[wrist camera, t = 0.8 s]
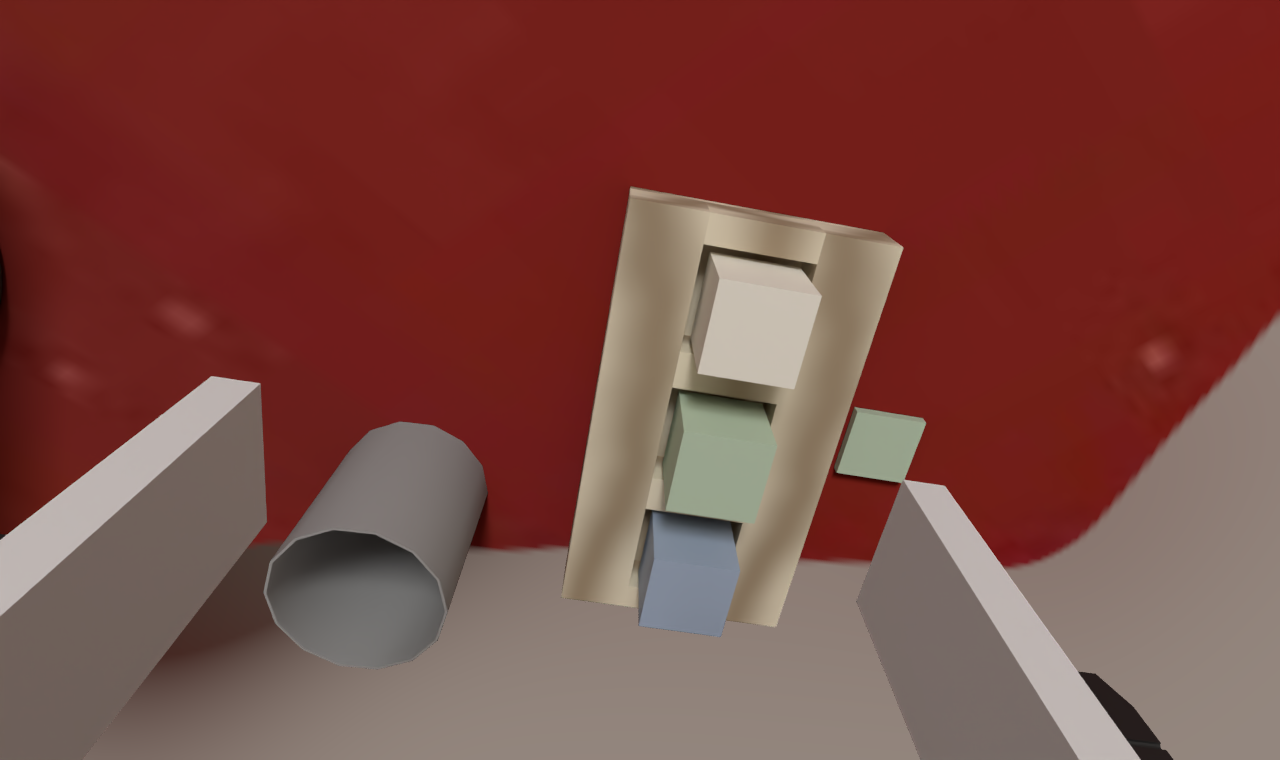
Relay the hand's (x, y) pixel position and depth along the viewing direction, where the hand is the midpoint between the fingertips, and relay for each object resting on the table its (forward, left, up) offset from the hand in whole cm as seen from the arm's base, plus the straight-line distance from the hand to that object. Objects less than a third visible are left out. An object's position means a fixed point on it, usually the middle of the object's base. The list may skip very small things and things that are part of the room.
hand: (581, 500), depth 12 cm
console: (+7, -11, -26) cm, 29 cm away
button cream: (+7, -3, -24) cm, 25 cm away
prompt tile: (+17, -11, -26) cm, 33 cm away
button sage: (+7, -11, -24) cm, 27 cm away
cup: (-9, -18, -26) cm, 33 cm away
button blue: (+7, -18, -24) cm, 31 cm away
